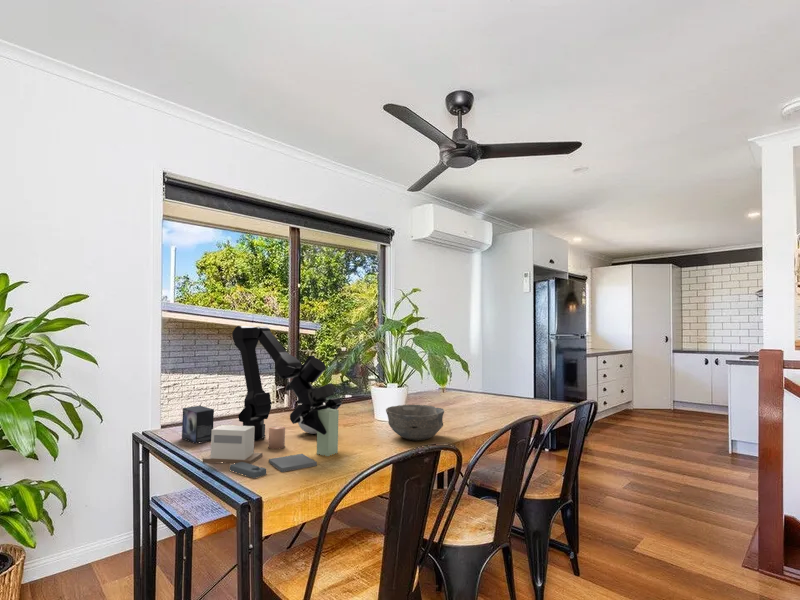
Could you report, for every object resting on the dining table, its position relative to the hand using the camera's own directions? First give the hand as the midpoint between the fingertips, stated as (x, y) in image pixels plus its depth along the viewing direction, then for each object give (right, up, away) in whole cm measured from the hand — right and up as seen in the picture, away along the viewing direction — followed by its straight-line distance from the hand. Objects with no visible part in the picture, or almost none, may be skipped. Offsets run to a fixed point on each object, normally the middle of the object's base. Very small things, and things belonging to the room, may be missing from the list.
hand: (331, 432), depth 134 cm
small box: (-48, -7, +15) cm, 51 cm away
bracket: (-19, -6, -19) cm, 27 cm away
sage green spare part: (-1, -7, 0) cm, 7 cm away
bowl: (+26, -9, +21) cm, 35 cm away
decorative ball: (-11, -9, +26) cm, 30 cm away
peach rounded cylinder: (-19, -7, +7) cm, 21 cm away
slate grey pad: (-9, -6, -11) cm, 15 cm away
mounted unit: (-27, -6, -7) cm, 29 cm away
